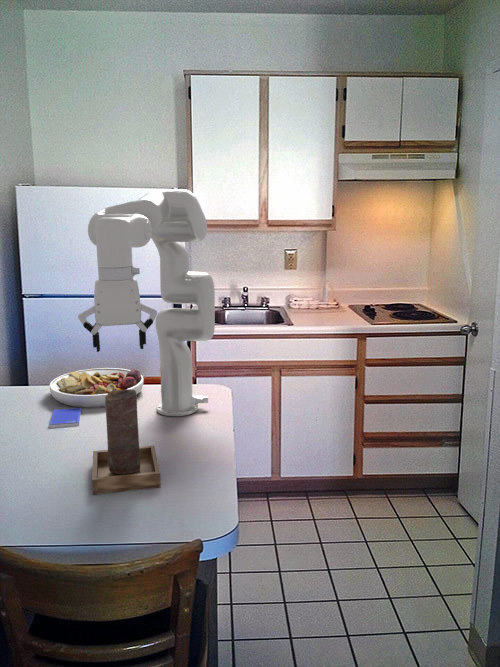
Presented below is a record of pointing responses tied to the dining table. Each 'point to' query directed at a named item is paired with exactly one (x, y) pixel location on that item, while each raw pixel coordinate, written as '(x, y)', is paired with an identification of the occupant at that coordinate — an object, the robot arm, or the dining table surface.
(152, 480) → the wooden tray
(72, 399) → the bowl
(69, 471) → the dining table surface
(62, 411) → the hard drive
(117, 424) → the candle
